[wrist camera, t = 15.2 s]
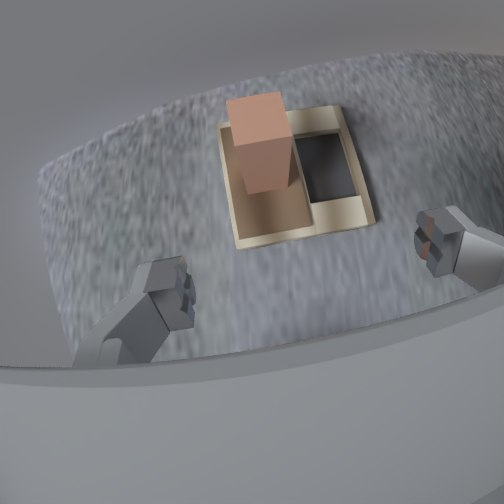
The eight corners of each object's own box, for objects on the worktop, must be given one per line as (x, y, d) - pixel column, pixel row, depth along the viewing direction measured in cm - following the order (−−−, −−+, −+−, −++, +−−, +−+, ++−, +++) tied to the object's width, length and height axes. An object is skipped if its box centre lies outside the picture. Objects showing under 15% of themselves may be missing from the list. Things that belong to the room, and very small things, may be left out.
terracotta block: (279, 152, 35) (279, 91, 24) (287, 187, 35) (292, 135, 23) (241, 159, 36) (225, 100, 24) (247, 194, 35) (234, 146, 23)
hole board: (337, 110, 38) (339, 103, 36) (372, 226, 35) (377, 222, 33) (217, 130, 38) (214, 122, 37) (238, 251, 36) (235, 249, 34)
